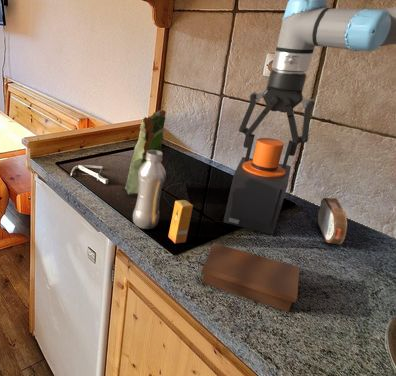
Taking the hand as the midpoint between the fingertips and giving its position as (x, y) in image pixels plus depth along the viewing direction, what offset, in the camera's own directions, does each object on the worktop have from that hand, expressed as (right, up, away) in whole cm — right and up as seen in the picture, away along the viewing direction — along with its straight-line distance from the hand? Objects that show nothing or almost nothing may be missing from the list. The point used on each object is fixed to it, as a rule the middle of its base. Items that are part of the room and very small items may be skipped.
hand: (265, 163), depth 103 cm
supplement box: (-24, -19, -4) cm, 31 cm away
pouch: (-27, -8, +18) cm, 34 cm away
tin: (+15, -18, 0) cm, 24 cm away
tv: (0, -14, +7) cm, 16 cm away
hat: (0, -2, +1) cm, 2 cm away
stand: (-13, -26, -19) cm, 35 cm away
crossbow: (-42, -2, +29) cm, 51 cm away
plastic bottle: (-30, -16, +1) cm, 34 cm away
